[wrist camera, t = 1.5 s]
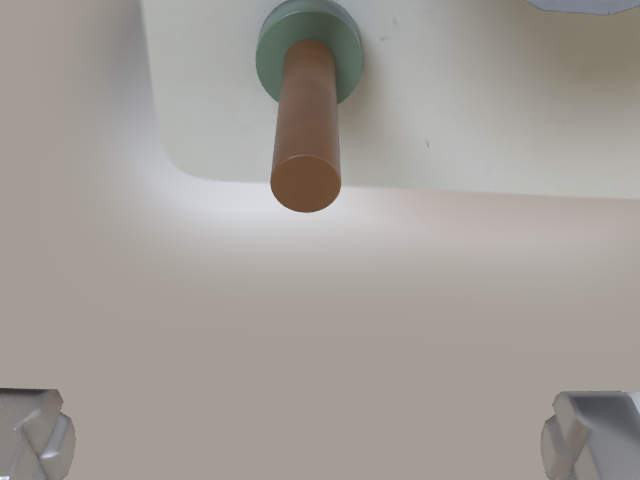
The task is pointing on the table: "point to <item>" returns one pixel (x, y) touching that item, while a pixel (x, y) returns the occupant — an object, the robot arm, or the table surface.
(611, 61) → the table surface
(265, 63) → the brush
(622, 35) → the table surface
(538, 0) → the tumbler
